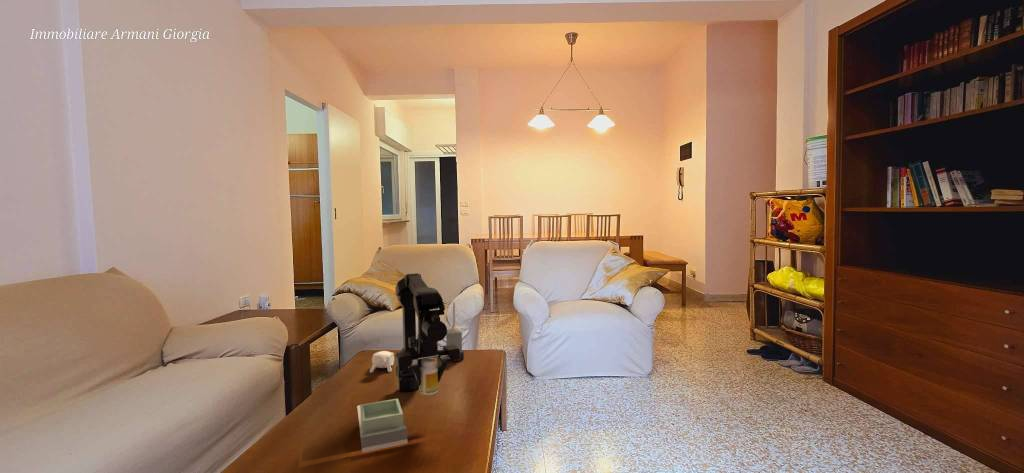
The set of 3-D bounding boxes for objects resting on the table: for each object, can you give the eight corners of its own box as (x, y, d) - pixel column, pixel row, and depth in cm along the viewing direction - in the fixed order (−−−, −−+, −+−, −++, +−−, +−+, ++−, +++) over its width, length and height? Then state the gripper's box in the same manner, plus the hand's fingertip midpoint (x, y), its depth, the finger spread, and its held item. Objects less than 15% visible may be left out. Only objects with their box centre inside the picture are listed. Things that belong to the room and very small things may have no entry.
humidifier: (456, 363, 184) (455, 305, 183) (441, 360, 188) (440, 303, 187) (467, 357, 191) (467, 301, 190) (452, 354, 195) (452, 299, 194)
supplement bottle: (441, 389, 133) (440, 358, 132) (432, 396, 128) (431, 364, 127) (425, 386, 135) (425, 356, 134) (416, 394, 130) (415, 362, 129)
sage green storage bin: (398, 416, 135) (397, 398, 135) (403, 432, 125) (403, 413, 125) (360, 422, 131) (360, 404, 131) (363, 440, 121) (362, 421, 121)
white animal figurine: (375, 372, 183) (365, 372, 168) (376, 351, 185) (366, 349, 171) (395, 372, 183) (387, 371, 169) (397, 351, 186) (388, 349, 171)
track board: (394, 402, 148) (394, 390, 147) (407, 443, 122) (407, 429, 121) (357, 408, 143) (356, 396, 143) (362, 452, 117) (361, 438, 117)
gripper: (449, 322, 141) (450, 369, 143) (390, 329, 133) (392, 379, 134) (461, 331, 131) (461, 381, 133) (398, 339, 123) (399, 393, 124)
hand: (428, 383), depth 131 cm, fingers closed on supplement bottle, 5 cm apart
